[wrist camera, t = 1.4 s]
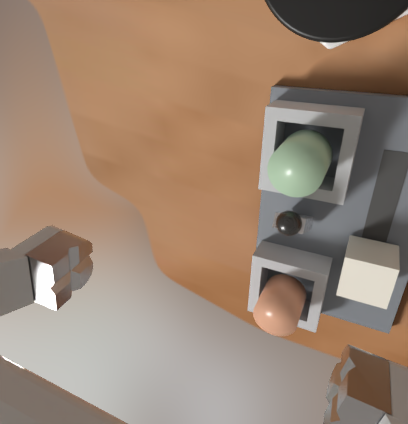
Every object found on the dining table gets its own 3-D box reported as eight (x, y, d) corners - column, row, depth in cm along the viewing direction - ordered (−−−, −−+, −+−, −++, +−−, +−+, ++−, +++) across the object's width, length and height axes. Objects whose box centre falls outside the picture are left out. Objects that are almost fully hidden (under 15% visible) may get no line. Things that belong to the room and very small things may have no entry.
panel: (467, 100, 26) (477, 111, 22) (389, 326, 36) (388, 356, 33) (274, 85, 31) (260, 92, 28) (255, 286, 41) (243, 309, 38)
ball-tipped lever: (314, 212, 33) (305, 214, 26) (310, 234, 33) (299, 240, 27) (288, 207, 34) (273, 207, 27) (284, 228, 34) (268, 233, 27)
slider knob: (399, 245, 31) (399, 270, 28) (387, 282, 33) (386, 309, 30) (349, 234, 32) (345, 257, 29) (341, 270, 34) (336, 295, 31)
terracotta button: (309, 280, 34) (300, 308, 30) (303, 313, 35) (294, 342, 32) (267, 269, 35) (254, 294, 32) (264, 300, 37) (251, 327, 34)
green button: (337, 133, 27) (329, 148, 24) (327, 182, 29) (319, 202, 26) (284, 126, 28) (270, 139, 25) (278, 173, 30) (264, 191, 27)
